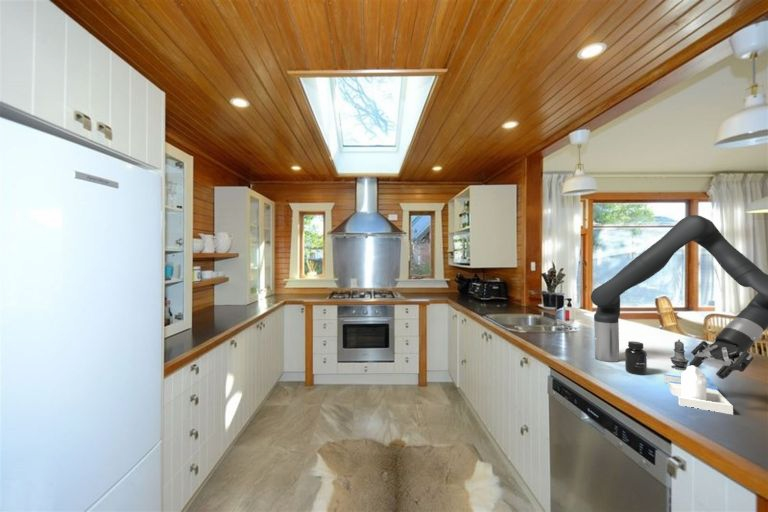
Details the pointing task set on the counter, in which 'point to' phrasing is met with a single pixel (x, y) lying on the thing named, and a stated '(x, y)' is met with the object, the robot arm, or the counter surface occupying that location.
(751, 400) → the counter surface
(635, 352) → the supplement bottle
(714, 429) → the counter surface
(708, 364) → the counter surface
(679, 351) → the dark grey turned piece
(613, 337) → the robot arm
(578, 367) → the counter surface
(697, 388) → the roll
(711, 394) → the white rail frame
